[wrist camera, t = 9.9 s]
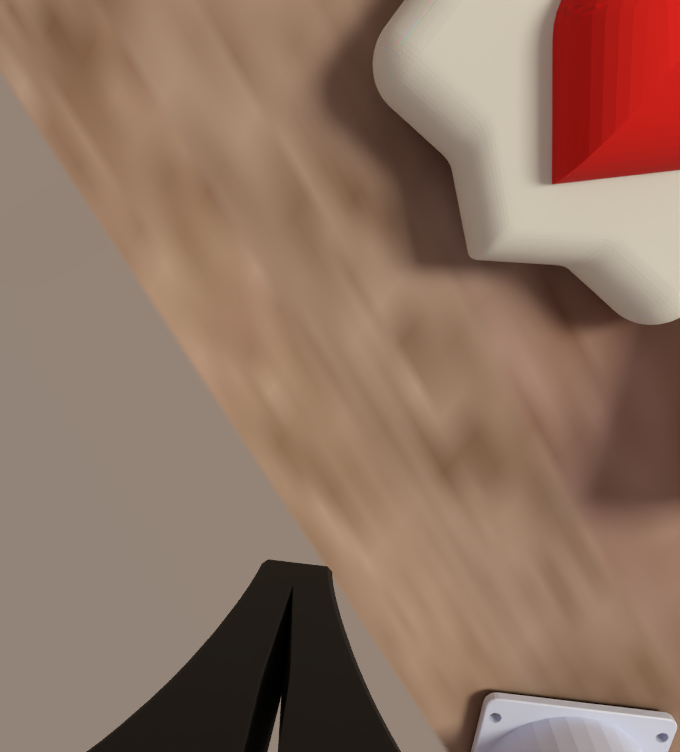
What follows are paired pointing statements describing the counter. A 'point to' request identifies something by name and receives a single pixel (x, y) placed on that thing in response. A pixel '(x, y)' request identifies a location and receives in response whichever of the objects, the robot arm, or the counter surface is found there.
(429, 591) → the counter surface
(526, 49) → the icon
